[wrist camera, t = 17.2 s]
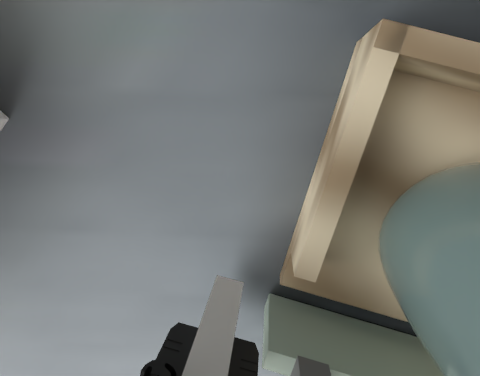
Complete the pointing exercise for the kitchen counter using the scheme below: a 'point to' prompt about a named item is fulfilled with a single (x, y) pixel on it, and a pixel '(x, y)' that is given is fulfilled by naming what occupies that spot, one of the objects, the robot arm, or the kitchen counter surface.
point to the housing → (382, 156)
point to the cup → (438, 264)
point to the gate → (336, 344)
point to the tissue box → (3, 120)
